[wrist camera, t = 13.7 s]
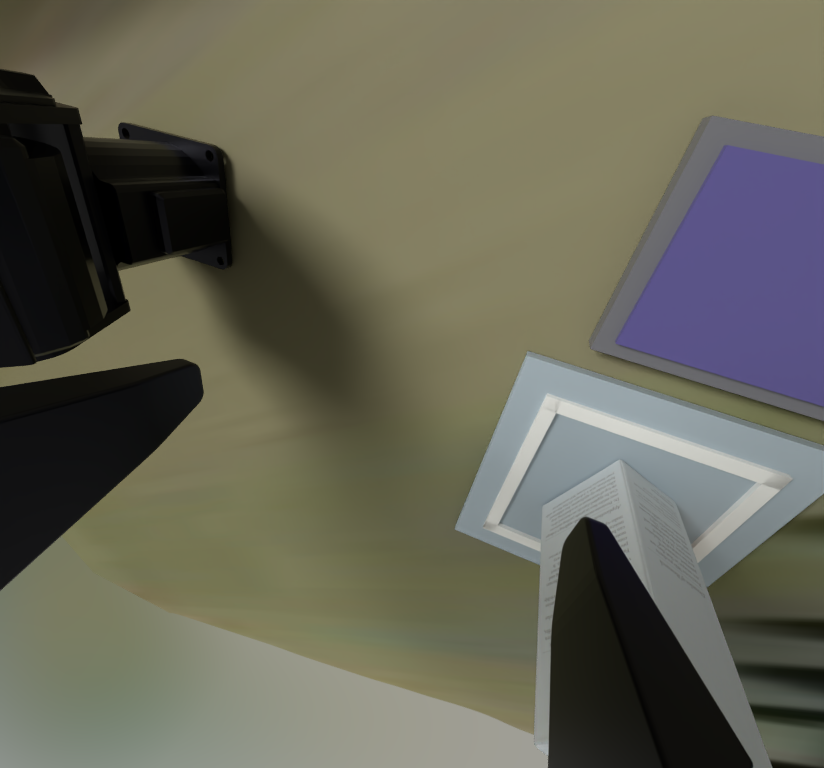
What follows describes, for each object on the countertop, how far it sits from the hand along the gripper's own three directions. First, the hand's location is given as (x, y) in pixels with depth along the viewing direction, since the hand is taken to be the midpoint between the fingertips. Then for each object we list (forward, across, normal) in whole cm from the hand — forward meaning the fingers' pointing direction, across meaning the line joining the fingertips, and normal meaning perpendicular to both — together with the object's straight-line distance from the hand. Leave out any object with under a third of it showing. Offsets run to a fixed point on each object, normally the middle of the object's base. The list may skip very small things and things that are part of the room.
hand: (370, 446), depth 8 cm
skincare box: (+13, -11, +10) cm, 19 cm away
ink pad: (+13, -12, -4) cm, 18 cm away
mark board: (+13, -11, +10) cm, 20 cm away
